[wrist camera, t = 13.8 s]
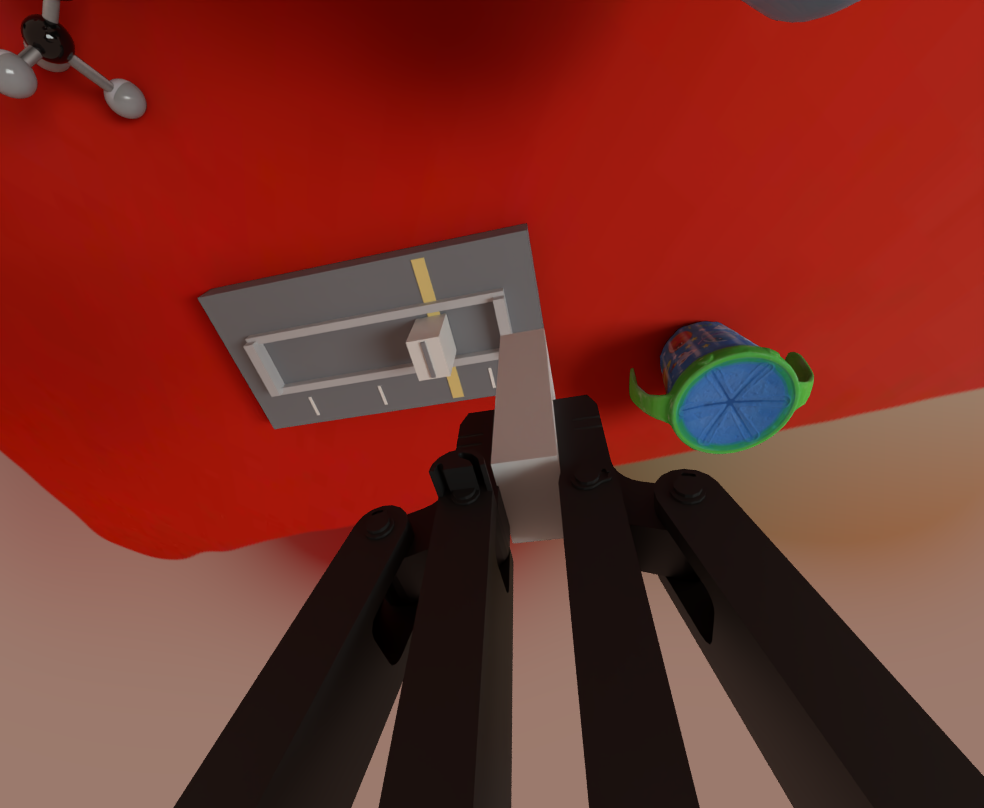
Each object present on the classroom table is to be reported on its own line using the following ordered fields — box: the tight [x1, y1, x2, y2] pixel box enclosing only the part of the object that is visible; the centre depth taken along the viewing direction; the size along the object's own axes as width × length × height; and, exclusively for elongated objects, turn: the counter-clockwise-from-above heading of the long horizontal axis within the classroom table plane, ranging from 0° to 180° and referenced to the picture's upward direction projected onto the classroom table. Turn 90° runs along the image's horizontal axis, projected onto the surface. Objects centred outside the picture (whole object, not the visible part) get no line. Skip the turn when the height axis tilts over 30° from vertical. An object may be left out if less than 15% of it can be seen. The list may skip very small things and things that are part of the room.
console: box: [198, 223, 544, 429], centre depth 47 cm, size 16×32×4 cm, turn 102°
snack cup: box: [629, 321, 814, 454], centre depth 44 cm, size 16×10×10 cm
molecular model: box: [0, 0, 147, 119], centre depth 30 cm, size 8×12×11 cm
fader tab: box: [406, 314, 457, 381], centre depth 43 cm, size 4×3×5 cm
